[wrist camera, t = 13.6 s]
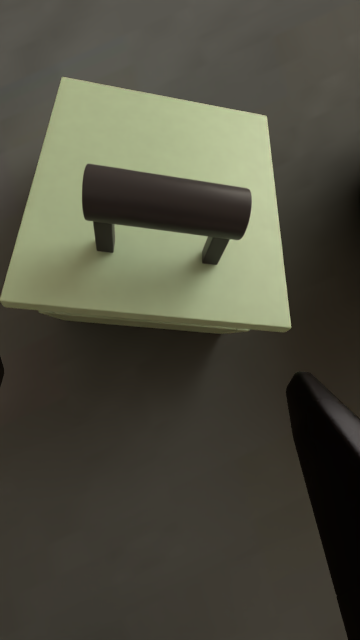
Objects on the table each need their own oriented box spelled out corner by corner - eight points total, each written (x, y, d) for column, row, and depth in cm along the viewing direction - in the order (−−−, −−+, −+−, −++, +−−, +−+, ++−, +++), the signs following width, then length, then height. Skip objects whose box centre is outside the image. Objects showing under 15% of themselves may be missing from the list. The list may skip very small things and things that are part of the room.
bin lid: (285, 332, 14) (351, 285, 10) (3, 307, 12) (-55, 237, 8) (262, 125, 19) (300, 38, 15) (63, 88, 17) (45, -21, 13)
